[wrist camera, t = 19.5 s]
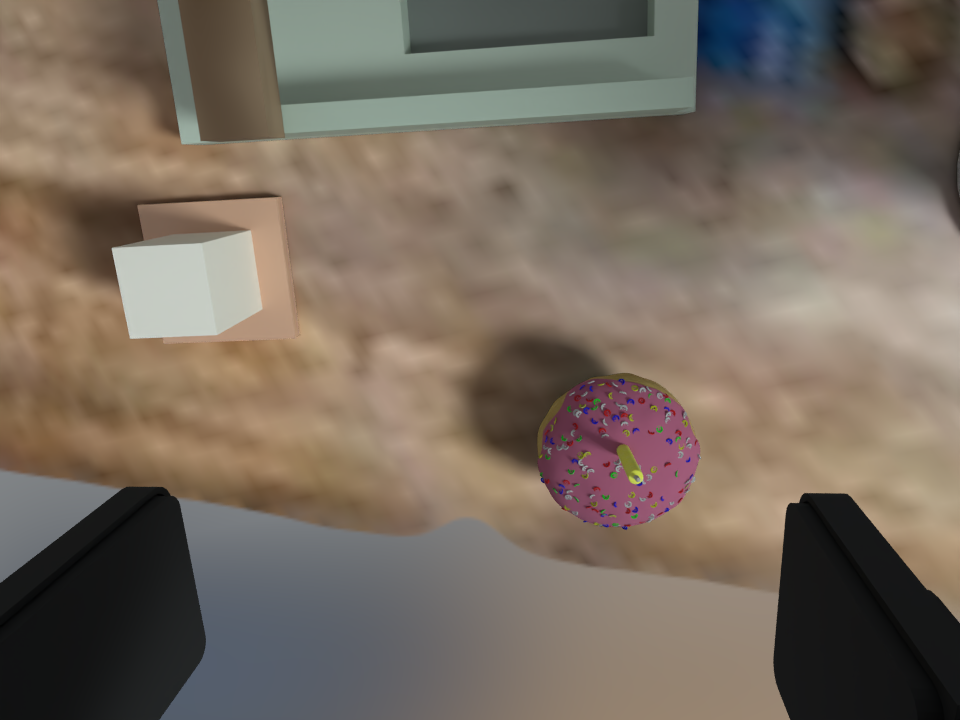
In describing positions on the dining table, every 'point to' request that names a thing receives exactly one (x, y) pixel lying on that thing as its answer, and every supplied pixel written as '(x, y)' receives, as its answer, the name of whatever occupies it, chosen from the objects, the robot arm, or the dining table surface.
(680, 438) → the cupcake
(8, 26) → the dining table surface
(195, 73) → the latch bar
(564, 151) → the dining table surface
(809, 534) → the robot arm
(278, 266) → the terracotta coaster
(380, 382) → the dining table surface
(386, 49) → the puzzle board
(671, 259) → the dining table surface
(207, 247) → the cream block
